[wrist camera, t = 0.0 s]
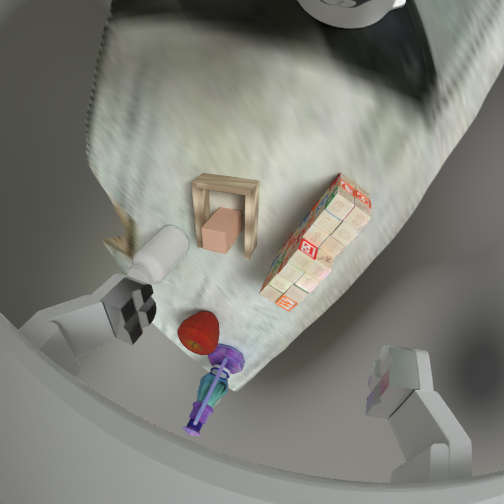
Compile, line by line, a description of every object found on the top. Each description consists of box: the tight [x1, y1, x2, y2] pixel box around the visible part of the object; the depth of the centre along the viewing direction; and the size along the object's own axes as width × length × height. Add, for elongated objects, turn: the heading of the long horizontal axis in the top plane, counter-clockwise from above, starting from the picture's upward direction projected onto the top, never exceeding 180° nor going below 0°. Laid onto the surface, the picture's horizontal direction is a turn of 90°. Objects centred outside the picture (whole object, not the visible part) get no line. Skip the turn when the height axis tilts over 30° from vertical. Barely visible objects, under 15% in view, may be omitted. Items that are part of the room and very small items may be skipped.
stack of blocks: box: [259, 173, 371, 312], centre depth 45 cm, size 21×6×12 cm, turn 153°
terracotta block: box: [201, 207, 242, 254], centre depth 52 cm, size 4×4×8 cm
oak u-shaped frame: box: [192, 173, 259, 259], centre depth 52 cm, size 14×11×4 cm
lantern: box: [183, 344, 245, 436], centre depth 74 cm, size 13×12×30 cm
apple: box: [178, 311, 219, 355], centre depth 71 cm, size 11×11×12 cm
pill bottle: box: [128, 225, 189, 285], centre depth 57 cm, size 8×8×15 cm
